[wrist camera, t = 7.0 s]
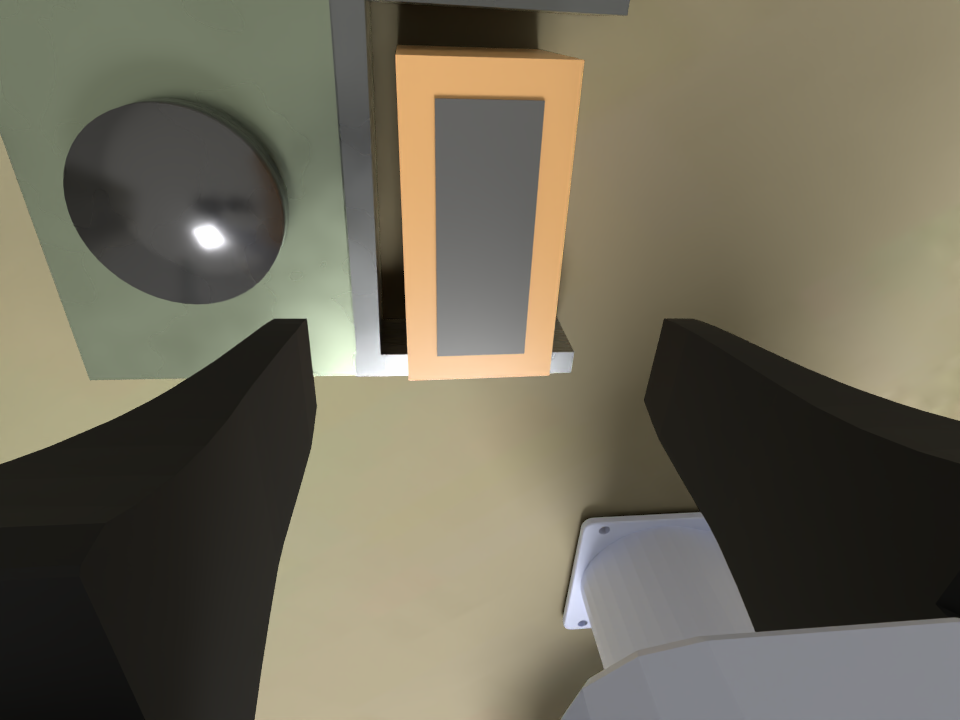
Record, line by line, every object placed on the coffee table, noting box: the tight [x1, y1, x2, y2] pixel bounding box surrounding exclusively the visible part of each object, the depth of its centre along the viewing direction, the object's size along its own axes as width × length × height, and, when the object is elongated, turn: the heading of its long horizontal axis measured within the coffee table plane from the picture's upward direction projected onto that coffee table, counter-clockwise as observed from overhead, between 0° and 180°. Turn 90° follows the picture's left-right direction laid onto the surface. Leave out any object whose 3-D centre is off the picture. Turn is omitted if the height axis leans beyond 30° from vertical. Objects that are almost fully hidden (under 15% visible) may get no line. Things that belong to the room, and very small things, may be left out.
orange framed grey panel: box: [395, 45, 584, 381], centre depth 16 cm, size 4×8×5 cm, turn 178°
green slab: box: [0, 0, 630, 380], centre depth 16 cm, size 15×11×4 cm
